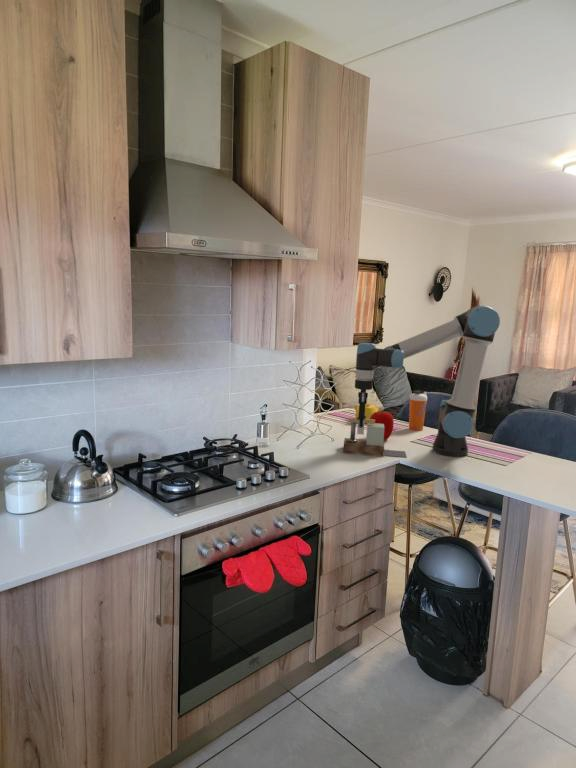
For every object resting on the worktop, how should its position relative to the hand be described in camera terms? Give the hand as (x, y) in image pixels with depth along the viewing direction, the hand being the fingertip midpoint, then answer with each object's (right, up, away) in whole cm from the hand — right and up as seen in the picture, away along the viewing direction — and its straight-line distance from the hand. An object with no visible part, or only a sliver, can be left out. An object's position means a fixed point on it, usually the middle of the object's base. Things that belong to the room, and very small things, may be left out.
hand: (360, 433), depth 228 cm
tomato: (+13, -5, +23) cm, 27 cm away
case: (+1, -8, +1) cm, 8 cm away
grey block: (+6, -4, 0) cm, 7 cm away
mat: (+15, -9, -1) cm, 17 cm away
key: (0, -4, +1) cm, 4 cm away
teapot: (+12, +1, +60) cm, 61 cm away
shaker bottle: (+35, -2, +47) cm, 59 cm away
